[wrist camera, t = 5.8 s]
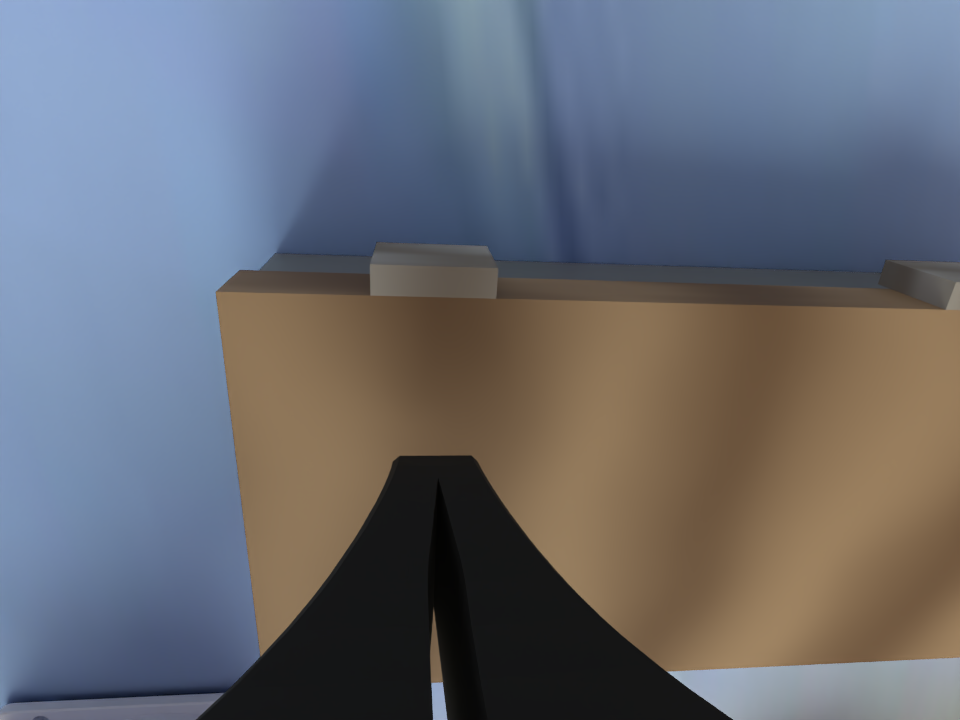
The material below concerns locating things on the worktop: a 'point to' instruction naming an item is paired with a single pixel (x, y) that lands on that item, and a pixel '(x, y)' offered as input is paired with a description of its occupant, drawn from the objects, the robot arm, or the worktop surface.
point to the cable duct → (603, 272)
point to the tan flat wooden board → (623, 443)
